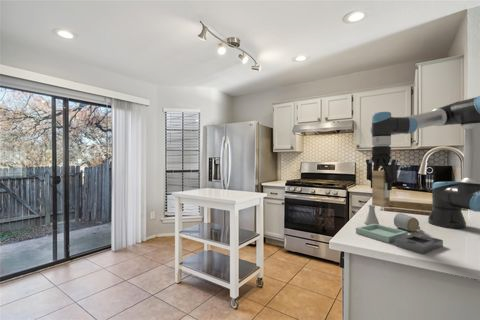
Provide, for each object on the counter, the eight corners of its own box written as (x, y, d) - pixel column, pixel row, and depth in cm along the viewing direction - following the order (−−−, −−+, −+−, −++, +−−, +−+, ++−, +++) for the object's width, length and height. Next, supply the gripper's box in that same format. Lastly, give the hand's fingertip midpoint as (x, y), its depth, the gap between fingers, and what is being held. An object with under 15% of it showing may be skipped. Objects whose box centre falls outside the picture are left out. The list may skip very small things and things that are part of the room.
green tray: (374, 228, 117) (374, 223, 117) (407, 237, 104) (407, 231, 104) (355, 233, 110) (355, 227, 110) (388, 243, 97) (388, 237, 97)
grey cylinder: (408, 233, 110) (408, 217, 110) (393, 228, 118) (393, 213, 118) (425, 231, 113) (425, 216, 113) (409, 226, 120) (409, 212, 120)
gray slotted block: (414, 238, 102) (414, 232, 102) (442, 246, 93) (442, 239, 93) (394, 245, 94) (394, 238, 94) (423, 254, 86) (423, 247, 86)
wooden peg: (378, 204, 110) (378, 170, 110) (389, 205, 106) (389, 171, 106) (372, 205, 108) (372, 170, 108) (383, 207, 103) (383, 171, 103)
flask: (377, 222, 128) (377, 204, 128) (381, 226, 121) (381, 207, 121) (362, 221, 130) (362, 204, 130) (365, 225, 123) (366, 206, 123)
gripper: (357, 146, 113) (357, 194, 113) (397, 144, 97) (397, 200, 97) (367, 147, 116) (367, 193, 117) (407, 145, 101) (406, 198, 101)
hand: (380, 196), depth 107 cm, fingers closed on wooden peg, 5 cm apart
